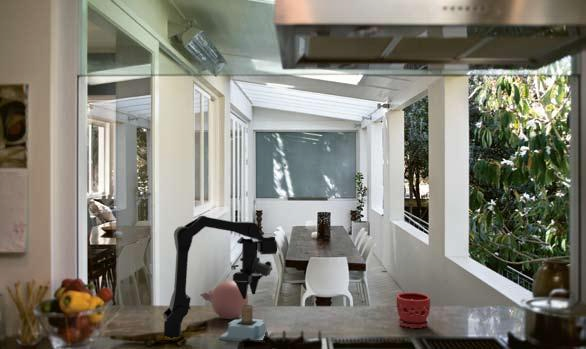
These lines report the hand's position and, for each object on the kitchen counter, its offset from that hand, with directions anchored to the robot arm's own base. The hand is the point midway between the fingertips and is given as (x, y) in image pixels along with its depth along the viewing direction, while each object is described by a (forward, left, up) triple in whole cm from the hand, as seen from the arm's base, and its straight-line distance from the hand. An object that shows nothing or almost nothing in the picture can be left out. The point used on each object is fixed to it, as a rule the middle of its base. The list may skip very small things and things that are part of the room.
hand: (249, 296), depth 192 cm
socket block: (-7, -2, -13) cm, 15 cm away
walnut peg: (-7, -2, -12) cm, 14 cm away
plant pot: (+28, -59, -13) cm, 67 cm away
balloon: (+15, +17, -13) cm, 26 cm away
